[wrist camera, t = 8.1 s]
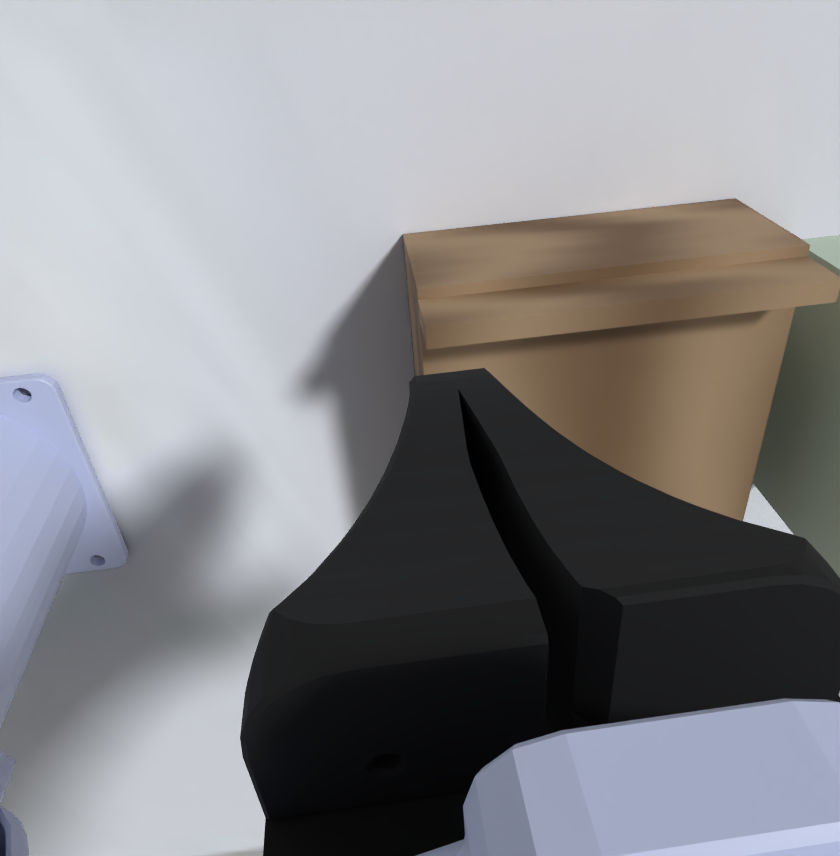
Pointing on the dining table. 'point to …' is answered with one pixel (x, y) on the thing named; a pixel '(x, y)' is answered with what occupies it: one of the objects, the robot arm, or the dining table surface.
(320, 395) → the dining table surface
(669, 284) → the walnut box
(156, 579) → the dining table surface
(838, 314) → the cover plate
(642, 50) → the dining table surface
